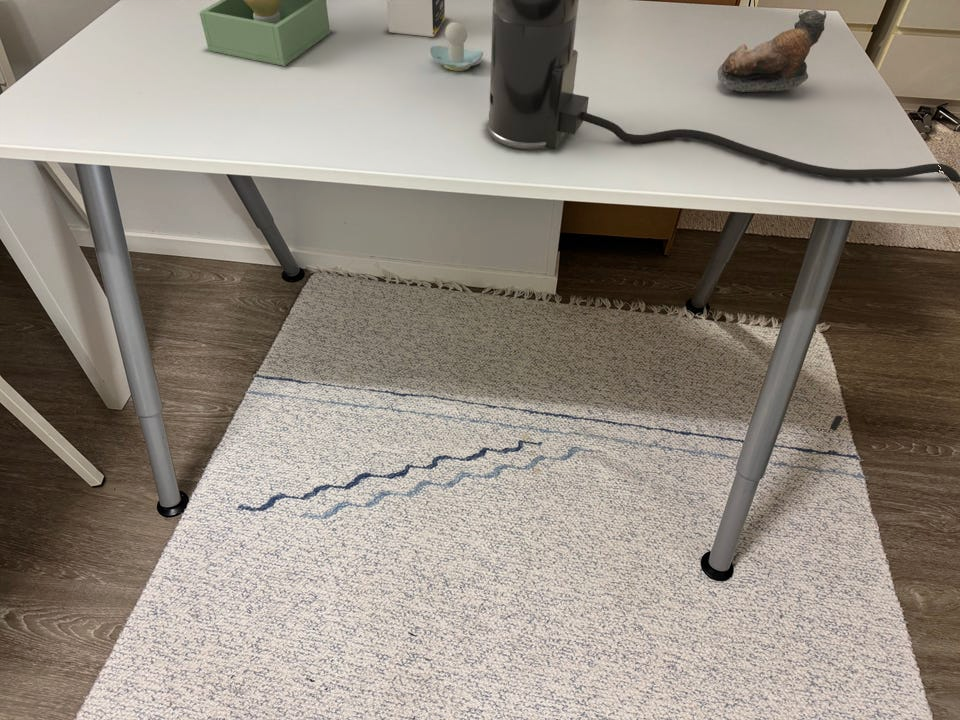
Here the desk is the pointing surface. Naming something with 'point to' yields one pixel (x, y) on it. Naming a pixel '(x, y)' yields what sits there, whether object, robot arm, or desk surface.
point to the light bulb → (265, 10)
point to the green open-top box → (265, 30)
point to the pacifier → (456, 50)
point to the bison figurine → (774, 59)
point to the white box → (415, 16)
